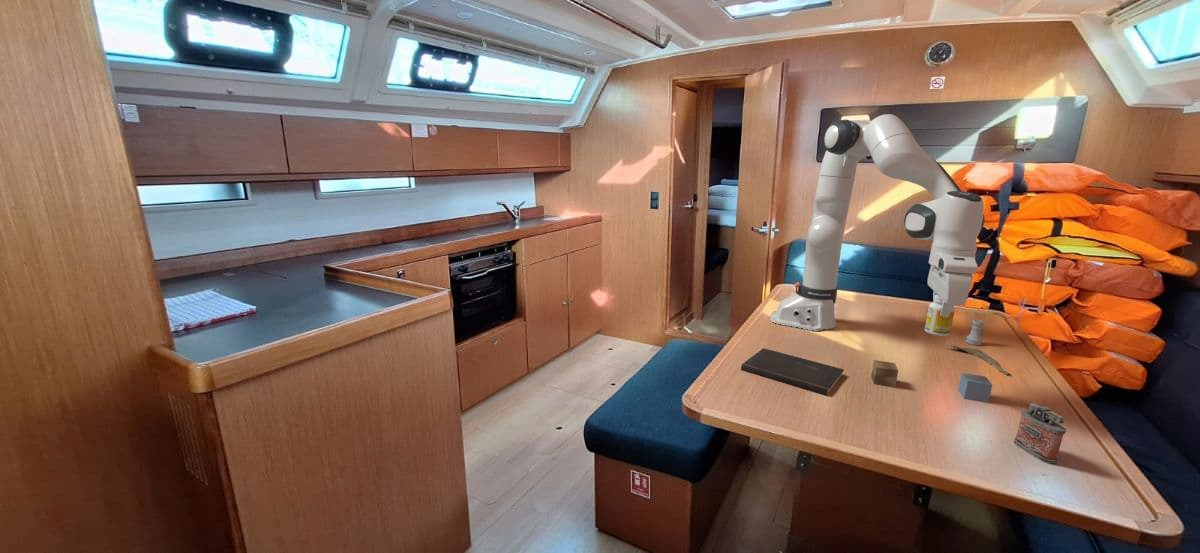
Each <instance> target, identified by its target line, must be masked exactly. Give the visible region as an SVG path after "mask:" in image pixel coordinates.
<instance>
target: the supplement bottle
mask: <svg viewBox="0 0 1200 553" xmlns="http://www.w3.org/2000/svg"><path fill="white" fill-rule="evenodd" d="M933 300H934V302H933V301H932V302H931V303H929V305H928V309H927V312H926V313H927V314H926V319H925V324H924V331H925V332H926V333H928V334H931V335H934V336H939V337H940V336H941V337H947V336H950V335H951V330H952V325H953V320H954V316H955V306H953V308H952V310H951V311H950V316H949V317H942V316H941V315H940V314H939V312H940V308H942V304H943V303H942V301H943V300H942V299H941V298H940V297H939V296H938V295H935V296H934V299H933Z"/></svg>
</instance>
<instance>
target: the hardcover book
mask: <svg viewBox="0 0 1200 553" xmlns="http://www.w3.org/2000/svg"><path fill="white" fill-rule="evenodd" d="M740 371H743V372H746V373H750V374H752V375H755V376H759V377H762V378H766V379H769V380H772V381H774V382H775V381H776V382H779V383H782V384H784V385H785V384H786V385H789V386H792V387H795V388H799V389H802V390H804V391H808V392H812V393H816V394H818V395H822V396H825V397H828V394H829V392H831V390H832V388H834V386H835V385H836V383H838V381H839V379H840V378H841V377H842V376H843V372H844V371H845V369H843V368H840V367H836V366H832V365H828V364H825V363H821V362H818V361H814V360H811V359H806V358H802V357H798V356H794V355H792V354H787V353H784V352H779V351H777V350H776V351H775V350H772V349H768V348H764V347H763V348H761V349H760V350H759V351H758V352H756V353H755V354H753V355H752V356H751V357H749V358H748V359H747V360H746V361H744V362H743V363H742V364H741V366H740Z"/></svg>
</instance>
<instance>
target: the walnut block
mask: <svg viewBox="0 0 1200 553" xmlns="http://www.w3.org/2000/svg"><path fill="white" fill-rule="evenodd" d="M898 374H899V368H898V367H897V365H896V363H895V362H890V361H883V360H876V359H873V363H872V371H871V376H870V377H871V380H872V383H873V385H877V386H884V387H889V388H896V386H897V379H898Z"/></svg>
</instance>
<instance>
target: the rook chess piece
mask: <svg viewBox="0 0 1200 553" xmlns="http://www.w3.org/2000/svg"><path fill="white" fill-rule="evenodd" d="M970 323H971V324H972V325H971V330H970V331H969V332H970V333H969V334H968V335H967V336H966V338H965V340H964V342H965V343H966V342H967V344H968V345H971V344H972V345H971V346H977V345H979V346H981V345H982V344H983V343H982V342H983V339H982V336H981V331H982V329H983V328H982V327H983V326H984V325H985V324H984V320H982V319H979V318H978V319H976V318H975V319H974V318H973V320H972V321H971V322H970Z"/></svg>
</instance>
